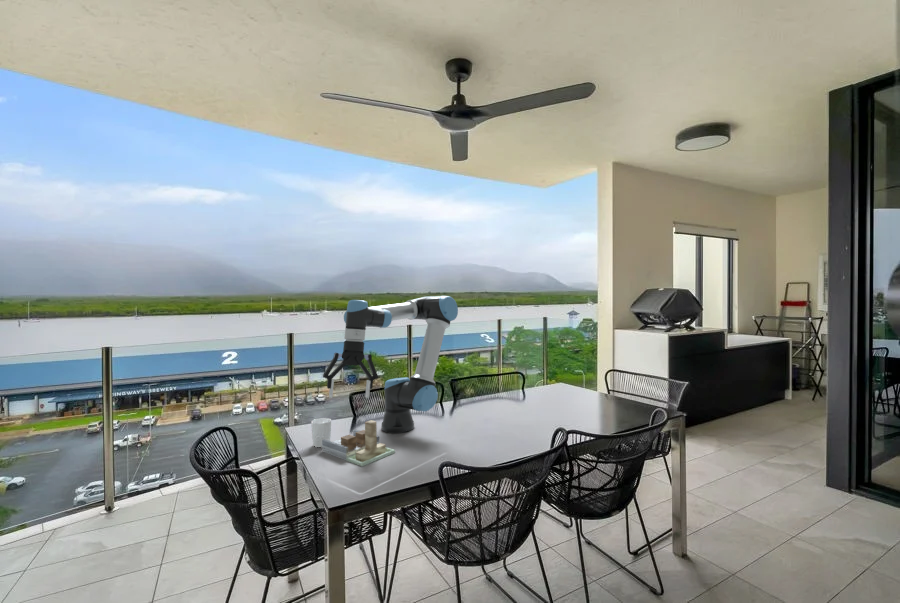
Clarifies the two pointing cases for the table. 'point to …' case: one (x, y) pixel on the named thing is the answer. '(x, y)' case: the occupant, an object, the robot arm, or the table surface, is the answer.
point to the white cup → (320, 431)
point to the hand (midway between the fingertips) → (349, 397)
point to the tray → (353, 458)
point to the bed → (342, 447)
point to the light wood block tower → (370, 443)
